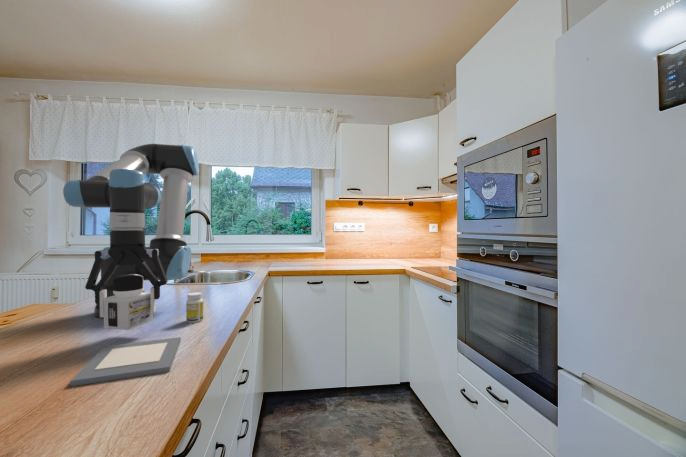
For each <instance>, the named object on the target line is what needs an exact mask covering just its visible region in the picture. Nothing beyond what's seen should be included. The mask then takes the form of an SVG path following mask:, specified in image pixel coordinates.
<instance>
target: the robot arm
mask: <svg viewBox="0 0 686 457" xmlns="http://www.w3.org/2000/svg"><path fill="white" fill-rule="evenodd" d="M199 173H200V167H199V160H198V155H197V153H196V150H195V148H194V147H193V146H191V145H183V144H181V145H179V144H164V143H162V144H160V143H147V144H141V145H139V146H136V147H132V148H130V149H128V150H126V151H125V152H123V153H122V154H121V155H120V157H119V159H118V160H116V161H114V162H113V163H111V164H110V165H109V166H106V167H105V168H103V169H102V170H100V171H98V172H97V173H96V174H94V175H92V176H90V177H89V178H87V179H86V180H83V179H82V180H81V179H72V180H68V181H66V183H65V184H64V186H63V189H62V194H63V198H64V201H65V203H67V205H69V206H71V207H74V208H75V207H76V208H83V209H86V208H102V209H103V208H105V209H106V208H108V209H109V228H111V229H112V230H110V231H109V238H110V239H109V246H106V247H104V248H102V249H100V250H96V251H95V252H94V261H93V265H92V268H91V270H90V273H89V276H88V278H87V281H86V284H85V287H84V288H85V290H90V291H93V292H94V303H95V306H94V314H93V316H94V317H95V318H100V319H101V318H103V319H104V304H103V299H104V298H106V297H110V296H114V295H115V294H113V279H114V278H116V277H118V276H121V275H129V274H138V275H141V276H143V281H149V282H150V284H151V285H152V286H151V288H150V289H149V290H150V292H149V293H150V305H151V313H155V312H156V310H157V307H156V306H157V304H156V302H157V300H159V299H160V297H161V287H162V286H164V285H166V284H167V283H168V282H169V281H172V280H181V279H183V278H185V277H186V275H187V274H188V272H189V268H190V266H191V261H192V250H191V248H190V246H188V244H187V241H186V240H185V239H184V230H185V229H184V228H185V221H186V211H187V209H186V208H187V200H188V190H189V184H190V183H192V182H193V181H194V177H196V176H198V175H199ZM147 174H150V175H151V174H153V175H159V176H160V178H161V179H162V180H163V182H162V190H161V191H160V189H159V188H158V187H157V186H155V185H153V184H152V183H151V182H146V181H145V175H147ZM159 204H160V205H159ZM158 205H159V211H158V221H157V226H156V233H155V237H153V238H151V239H150V240H149V241H150V242H149V245H148V246H146V231H145V230H143V229H144V228H145V227H146V218H145V216H146V215H145V214H146V213H145V209H147V210H148V209H153V208H155V207H157V206H158ZM99 275H100V279H99V281H98V282H97V280H98V277H99ZM142 292H143V293H145V291H144V290H143V291H142Z"/></svg>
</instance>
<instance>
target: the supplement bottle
mask: <svg viewBox="0 0 686 457" xmlns="http://www.w3.org/2000/svg"><path fill="white" fill-rule="evenodd" d="M185 304H186V306H185V307H186V311H185V312H186V316H185V317H186V322H187V323H191V324H192V323H193V324H194V323H198V322H202V321H203V320H204V299H203V294H202V292H200V291H199V292H190V293H187V299H186V303H185Z"/></svg>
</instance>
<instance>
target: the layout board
mask: <svg viewBox="0 0 686 457" xmlns="http://www.w3.org/2000/svg"><path fill="white" fill-rule="evenodd" d="M180 343H181V336H180V337H171V338H162V339H154V340H146V341H145V340H144V341H137V342H129V343H120V344H111V345H104V346H103V347H102V348H101V349H100V350H99V351H98V352H97V353H96V355H94V356H93V357H92V358H91V360H89V362H87V364H86V365H84V367H82V369H80V371H79V372H78V373H77V374H76V375H75V376H74V377H73V378H71V380H70V387H76V386H81V385H88V384H95V383H101V382H110V381H114V380H122V379H128V378H135V377H142V376H149V375H154V374H156V375H157V374H163V373H168V372H171V369H172V366H173V363H174V360H175V358H176V355H177V352H178V350H179V347H180V345H181V344H180Z"/></svg>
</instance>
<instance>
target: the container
mask: <svg viewBox="0 0 686 457" xmlns="http://www.w3.org/2000/svg"><path fill="white" fill-rule="evenodd" d="M143 290H144V280H143V276H141V275H138V274H129V275H121V276H118V277H116V278H114V279H113V294H115V295H114V296H110V297H106V298H104V299H103V304H104V318H103V328H104V329H109V330H110V329H113V330H125V331H131V330H133V329H136V328H137V327H141V326H143V325H146V324H148V323H150V322H152V321H153V320H154V319H153V318H154V317H153V313H151V305H150V292H144V293H143V292H142V291H143Z"/></svg>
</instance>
